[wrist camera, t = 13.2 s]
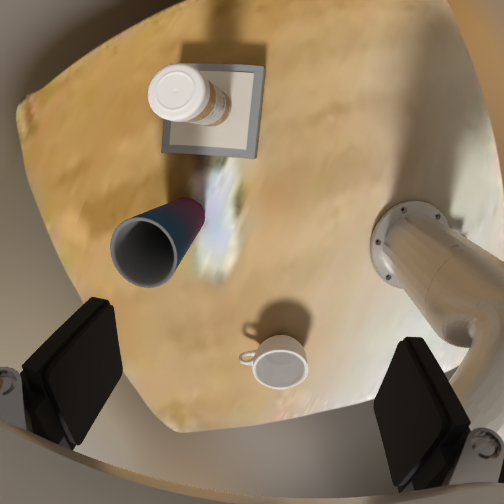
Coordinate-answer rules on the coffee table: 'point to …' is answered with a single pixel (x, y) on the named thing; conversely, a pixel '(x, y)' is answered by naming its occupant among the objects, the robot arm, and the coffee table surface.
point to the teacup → (278, 362)
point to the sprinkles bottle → (187, 96)
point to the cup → (156, 242)
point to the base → (234, 127)
